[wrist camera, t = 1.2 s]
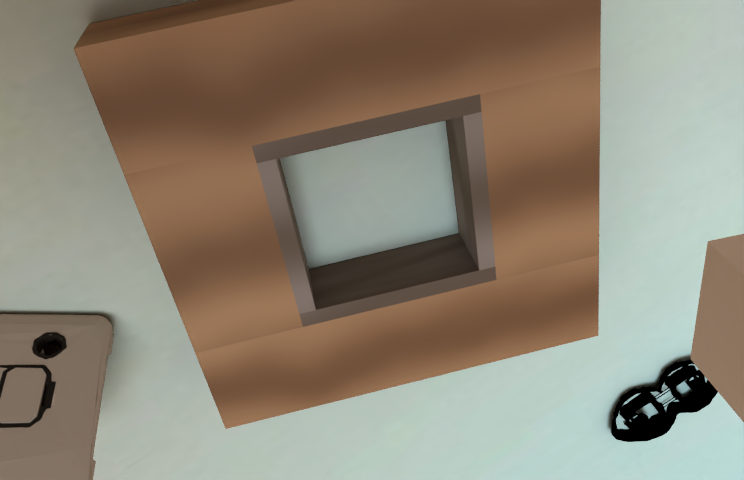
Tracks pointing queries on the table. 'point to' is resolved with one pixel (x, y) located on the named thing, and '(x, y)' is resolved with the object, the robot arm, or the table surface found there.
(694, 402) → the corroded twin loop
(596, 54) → the socket base
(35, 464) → the electrical switch
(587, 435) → the table surface
